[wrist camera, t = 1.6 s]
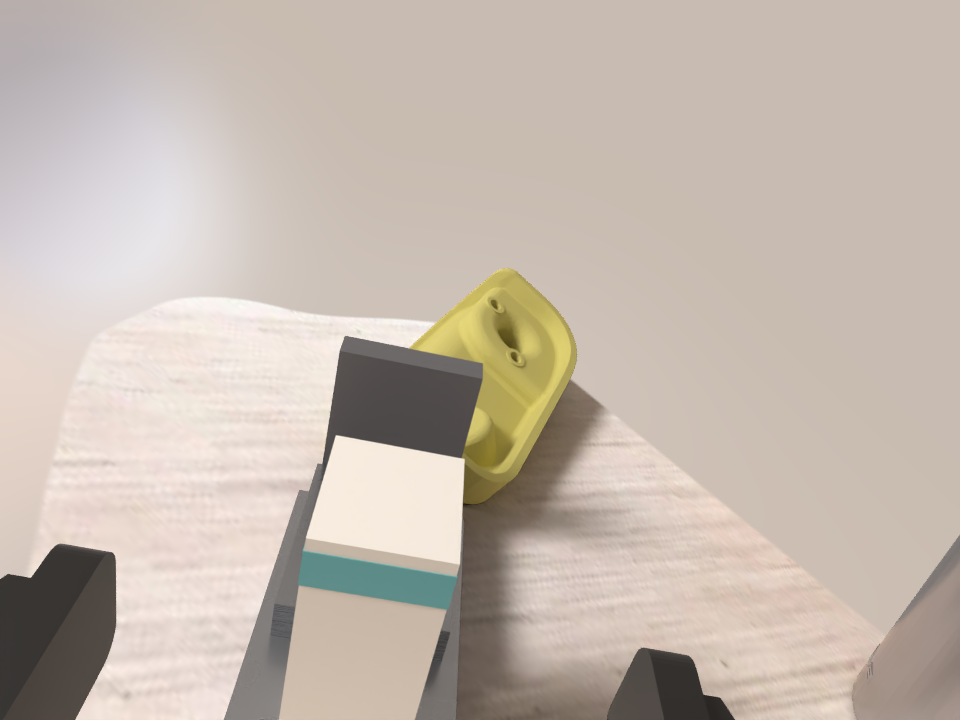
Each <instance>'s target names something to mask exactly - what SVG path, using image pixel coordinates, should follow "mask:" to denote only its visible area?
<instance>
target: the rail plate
mask: <svg viewBox="0 0 960 720" xmlns="http://www.w3.org/2000/svg"><path fill="white" fill-rule="evenodd" d="M326 468H327V465H323V464H317V467H316V471H315V474H314V477H313V480H312V484H311V487H310V490H309V492H308V491H302V490H299V493H298V496H297V499H296V502H295V505H294V508H293V511H292V514H291V517H290V520H289V523H288V526H287V529H286V532H285V535H284V538H283V541H282V545H281V548H280V551H279V554H278V557H277V560H276V563H275V566H274V569H273V572H272V575H271V578H270V581H269V584H268V587H267V590H266V593H265V596H264V599H263V602H262V605H261V608H260V611H259V615H258V618H257V621H256V624H255V627H254V630H253V633H252V636H251V639H250V642H249V645H248V648H247V651H246V654H245V657H244V660H243V663H242V666H241V669H240V672H239V675H238V678H237V682H236V685H235V688H234V691H233V694H232V697H231V700H230V703H229V706H228V709H227V712H226V715H225V718H224V720H279V716H280V709H281V702H282V696H283V689H284V682H285V675H286V669H287V662H288V655H289V649H290V642H291V635H292V628H293V622H294V615H295V608H296V601H297V595H298V588H299V585H298V580H299V573H300V567H301V560H302V553H303V549H304V545H305V541H306V536H307V533H308V529H309V526H310V522H311V519H312V515H313V512H314V509H315V505H316V502H317V498H318V495H319V492H320V488H321V485H322V481H323V478H324V474H325V471H326ZM463 536H464V519H462V530H461V552H460V566H459V569H458V575H457V581H456V584H455V587H454V591H453V594H452V598H451V601H450V604H449V608H448V610H447V611H446V614H445V618H444V621H443V624H442V628H441V631H440V635H439V638H438V642H437V645H436V649H435V652H434V655H433V659H432V662H431V666H430V669H429V673H428V676H427V679H426V683H425V686H424V690H423V693H422V697H421V700H420V704H419V707H418V710H417V714H416V717H415V720H456V706H457V681H458V657H459V633H460V609H461V585H462V561H463Z"/></svg>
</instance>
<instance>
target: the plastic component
mask: <svg viewBox="0 0 960 720" xmlns="http://www.w3.org/2000/svg"><path fill="white" fill-rule="evenodd" d="M409 349H414V350H419V351H424V352H429V353H434V354H439V355H444V356H449V357H454V358H459V359H464V360H469V361H474V362H479V363H483V380H482V384H481V388H480V392H479V395H478V399H477V403H476V406H475V410H474V414H473V418H472V421H471V425H470V429H469V433H468V436H467V440H466V444H465V448H464V451H463V455H462V459H465V463H464V485H463V503H465V504H479V503H482V502H484V501H486V500H487V499H489V498H490V497H491V496H492V495H494V494H495V493H496V492H497V491H499V490H500V489H501V488H502V487H504V486H505V485H506V484H507V483H509V482H510V481H511V480H512V479H514V478H515V477H516V476H517V475H518V473H519V471H520V469H521V467H522V466H523V464H524V462H525V460H526V458H527V457H528V455H529V453H530V451H531V449H532V448H533V446H534V444H535V442H536V440H537V438H538V437H539V435H540V433H541V431H542V429H543V428H544V426H545V424H546V422H547V420H548V419H549V417H550V415H551V413H552V411H553V410H554V408H555V406H556V404H557V402H558V401H559V399H560V397H561V395H562V393H563V391H564V390H565V388H566V386H567V384H568V382H569V380H570V378H571V376H572V373H573V371H574V368H575V364H576V360H577V349H576V343H575V340H574V337H573V335H572V333H571V330H570V328H569V326H568V325H567V323H566V322H565V320H564V318H563V317H562V316H561V314H560V313H559V312H558V310H557V309H556V308H555V307H554V306H553V305H552V304H551V303H550V302H549V301H548V300H547V299H546V298H545V297H544V296H543V295H542V294H541V293H540V292H539V291H537V290H536V289H535V288H534V287H533V286H532V285H531V284H530V283H528V281H526V280H525V279H524V278H523V277H522V276H521V275H520V274H519V273H518V272H517V271H515V270H513V269H501V270H498V271H496V272H495V273H494V274H492V275H491V276H490V277H489V278H488V279H486V280H485V281H484V282H483V283H482V284H480V285H479V286H478V287H477V288H476V289H475V290H473V291H472V292H471V293H470V294H469V295H468V296H466V297H465V298H464V299H463V300H462V301H461V302H459V303H458V304H457V305H456V306H455V307H454V308H453V309H452V310H450V311H449V312H448V313H447V314H446V315H445V316H444V317H442V318H441V319H440V320H439V321H438V322H437V323H436V324H435V325H434V326H432V327H431V328H430V329H429V330H428V331H427V332H426V333H425V334H424V335H423V336H421V337H420V338H419V339H418V340H417V341H416V342H415V343H414V344H413V345H412V346H411V347H410V348H409Z"/></svg>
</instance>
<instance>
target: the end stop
mask: <svg viewBox="0 0 960 720" xmlns="http://www.w3.org/2000/svg"><path fill="white" fill-rule="evenodd" d="M482 380H483V363H479V362H474V361H469V360H464V359H459V358H454V357H449V356H444V355H439V354H434V353H429V352H424V351H419V350H414V349H409V348H404V347H399V346H394V345H389V344H384V343H379V342H374V341H369V340H364V339H359V338H354V337H349V336H345V337H344V340H343V343H342V346H341V349H340V353H339V360H338V366H337V373H336V379H335V386H334V393H333V399H332V406H331V412H330V419H329V425H328V432H327V438H326V445H325V451H324V458H323V465H327V464H328V461H329V457H330V454H331V451H332V447H333V444H334V440H335V437H336V435H338V436H343V437H348V438H354V439H359V440H365V441H370V442H375V443H381V444H386V445H391V446H397V447H402V448H408V449H413V450H418V451H424V452H429V453H435V454H440V455H445V456H451V457H456V458H461V459H462V455H463V451H464V448H465V444H466V440H467V436H468V433H469V429H470V425H471V421H472V418H473V414H474V410H475V406H476V403H477V399H478V395H479V392H480V388H481V384H482Z"/></svg>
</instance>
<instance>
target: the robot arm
mask: <svg viewBox="0 0 960 720" xmlns="http://www.w3.org/2000/svg"><path fill="white" fill-rule="evenodd" d="M115 628H116V560H115V555H114V554H113V553H112V552H106V551H101V550H95V549H89V548H84V547H78V546H72V545H67V544H58V545H56V546H55V547H54V548H53V549H52V550H51V551H50V552H49V554H48V555H47V556H46V558H45V559H44V561H43V562H42V563H41V565H40V566H39V568H38V569H37V570H36V572H35V573H34V575H33V576H32V577H31V578H28V577H22V576H16V575H10V574H7V575H6V576H4V577H3V578H1V579H0V720H75V719H76V717H77V715H78V713H79V711H80V709H81V707H82V706H83V704H84V702H85V700H86V698H87V696H88V694H89V692H90V690H91V689H92V687H93V685H94V683H95V681H96V679H97V677H98V675H99V673H100V671H101V670H102V668H103V666H104V664H105V661H106V659H107V657H108V654H109V651H110V648H111V645H112V642H113V638H114V633H115ZM852 701H853V706H854V712H855V716H856V719H857V720H960V536H959V537H958V538H957V539H956V541H955V542H954V544H953V545H952V546H951V548H950V549H949V551H948V552H947V553H946V555H945V556H944V557H943V559H942V560H941V562H940V563H939V564H938V566H937V567H936V568H935V570H934V571H933V573H932V574H931V575H930V577H929V578H928V579H927V581H926V582H925V583H924V585H923V586H922V588H921V589H920V590H919V592H918V593H917V594H916V596H915V597H914V599H913V600H912V601H911V603H910V604H909V605H908V607H907V608H906V610H905V611H904V612H903V614H902V615H901V617H900V618H899V619H898V621H897V622H896V623H895V625H894V626H893V628H892V629H891V630H890V632H889V633H888V635H887V636H886V637H885V639H884V640H883V642H882V643H881V644H879V646H878V647H877V648H876V649H875V651H874V652H873V654H872V655H871V657H870V658H869V661H868V662H867V664H866V665H865V666H864V668H863V669H862V671H861V672H860V673H859V675H858V677H857V679H856V681H855V683H854V685H853V695H852ZM607 720H735V719H734V718H733V716H732V715H731V713H730V712H729V710H728V709H727V707H726V706H725V704H724V703H723V701H722V700H721V698H719V697H713V696H707V695H703V692H702V688H701V685H700V681H699V677H698V673H697V670H696V667H695V664H694V662H693V660H692V659H691V657H689V656H687V655H682V654H677V653H671V652H665V651H660V650H654V649H648V648H641V649H639V650H638V652H637V653H636V655H635V657H634V659H633V661H632V663H631V665H630V667H629V669H628V671H627V673H626V675H625V677H624V679H623V681H622V683H621V686H620V688H619V690H618V692H617V694H616V696H615V698H614V700H613V702H612V704H611V706H610V709H609V712H608V716H607Z"/></svg>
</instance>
